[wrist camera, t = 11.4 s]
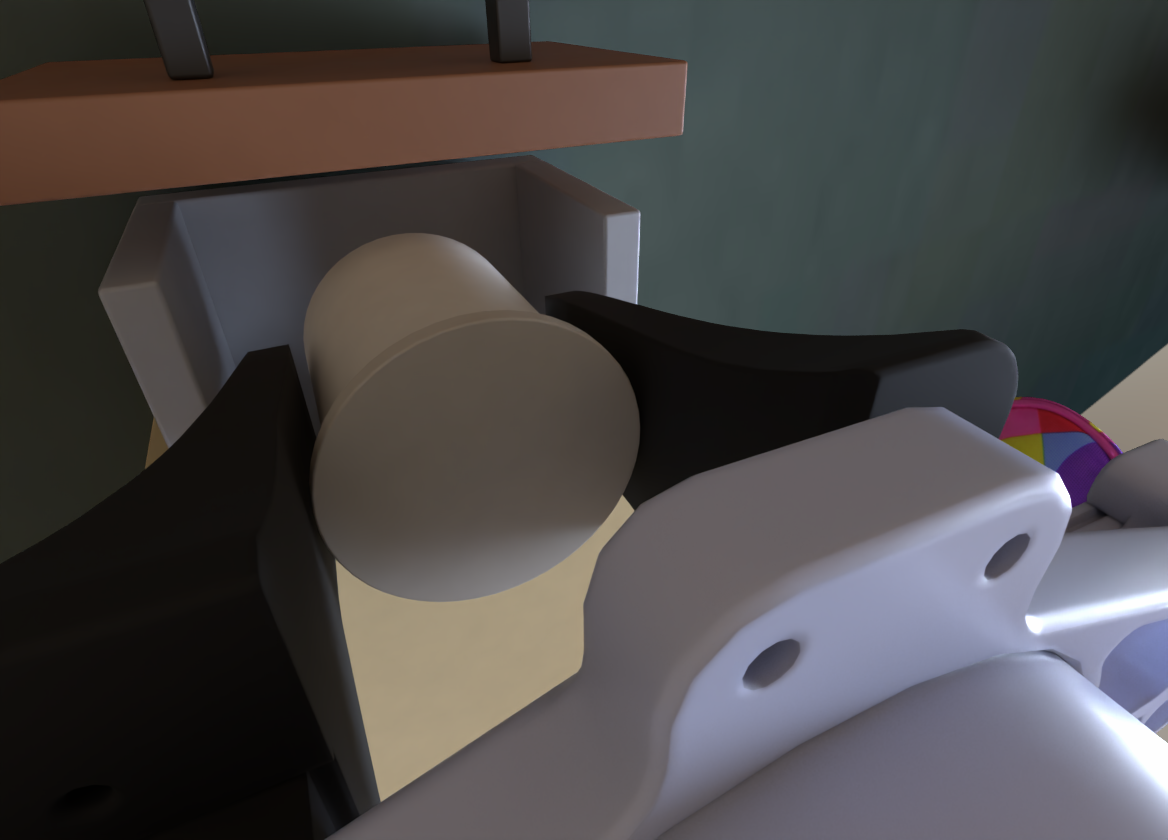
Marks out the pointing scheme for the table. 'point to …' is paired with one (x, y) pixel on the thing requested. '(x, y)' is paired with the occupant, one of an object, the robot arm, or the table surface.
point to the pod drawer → (326, 204)
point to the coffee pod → (456, 423)
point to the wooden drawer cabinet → (457, 655)
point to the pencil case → (1059, 442)
